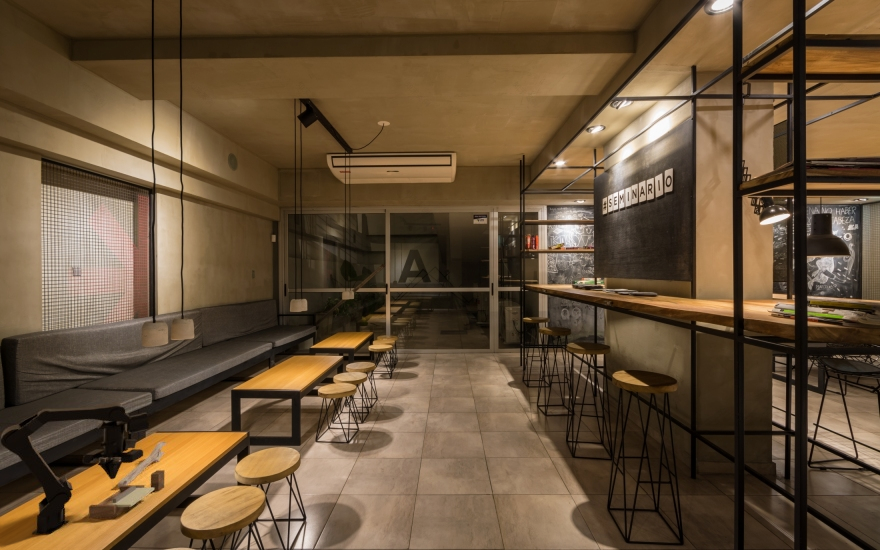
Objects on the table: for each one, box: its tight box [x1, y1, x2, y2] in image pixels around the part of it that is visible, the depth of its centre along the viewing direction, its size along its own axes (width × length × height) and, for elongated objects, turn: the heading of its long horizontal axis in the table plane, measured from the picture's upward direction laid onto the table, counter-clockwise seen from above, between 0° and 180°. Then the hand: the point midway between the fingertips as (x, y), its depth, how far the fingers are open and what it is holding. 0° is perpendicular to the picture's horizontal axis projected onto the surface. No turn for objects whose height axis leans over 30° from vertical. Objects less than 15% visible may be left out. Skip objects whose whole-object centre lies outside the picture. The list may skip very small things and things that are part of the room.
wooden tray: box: [88, 484, 145, 520], centre depth 141 cm, size 14×9×4 cm, turn 1°
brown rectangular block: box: [150, 469, 166, 493], centre depth 153 cm, size 3×3×7 cm
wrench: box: [117, 441, 167, 489], centre depth 168 cm, size 8×2×30 cm
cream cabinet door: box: [108, 486, 154, 508], centre depth 141 cm, size 11×8×2 cm
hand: (113, 478), depth 141 cm, fingers closed
